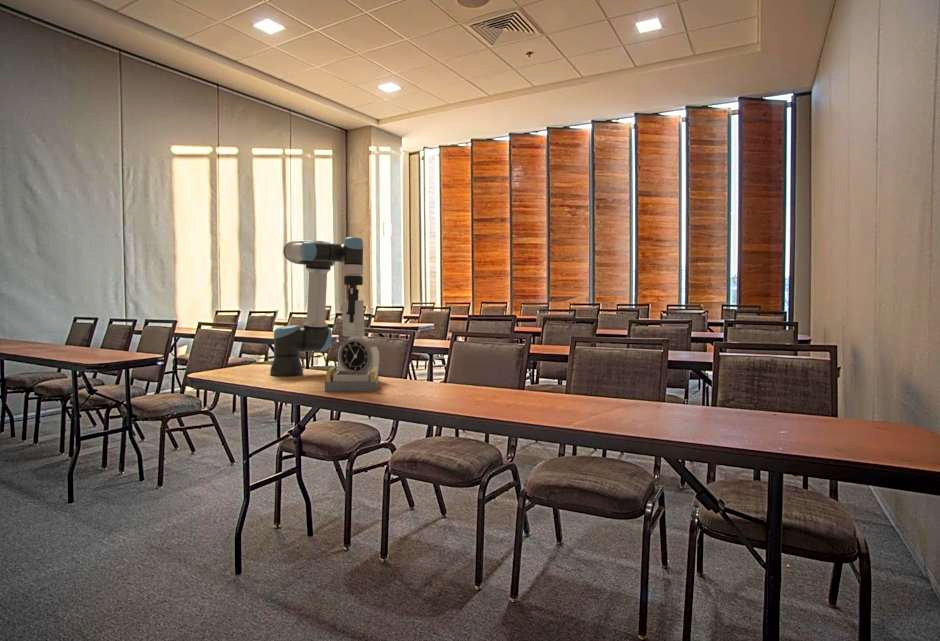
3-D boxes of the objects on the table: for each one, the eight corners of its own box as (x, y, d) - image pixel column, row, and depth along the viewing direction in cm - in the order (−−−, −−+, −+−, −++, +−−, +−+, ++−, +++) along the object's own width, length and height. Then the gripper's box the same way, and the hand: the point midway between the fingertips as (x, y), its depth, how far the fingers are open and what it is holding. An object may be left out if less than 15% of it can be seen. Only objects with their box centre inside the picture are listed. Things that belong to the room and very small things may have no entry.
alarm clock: (336, 380, 257) (336, 335, 256) (345, 377, 265) (345, 334, 264) (372, 382, 252) (372, 336, 251) (380, 379, 260) (381, 335, 259)
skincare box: (364, 336, 233) (365, 300, 232) (352, 337, 229) (352, 300, 228) (353, 335, 239) (354, 300, 238) (341, 336, 235) (341, 300, 234)
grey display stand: (330, 388, 242) (331, 366, 241) (378, 388, 244) (378, 366, 243) (324, 394, 226) (325, 371, 225) (375, 394, 228) (376, 371, 227)
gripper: (347, 276, 243) (347, 328, 244) (340, 274, 221) (340, 331, 222) (365, 276, 244) (364, 328, 245) (360, 274, 222) (359, 331, 223)
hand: (353, 329), depth 234 cm, fingers closed on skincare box, 10 cm apart
